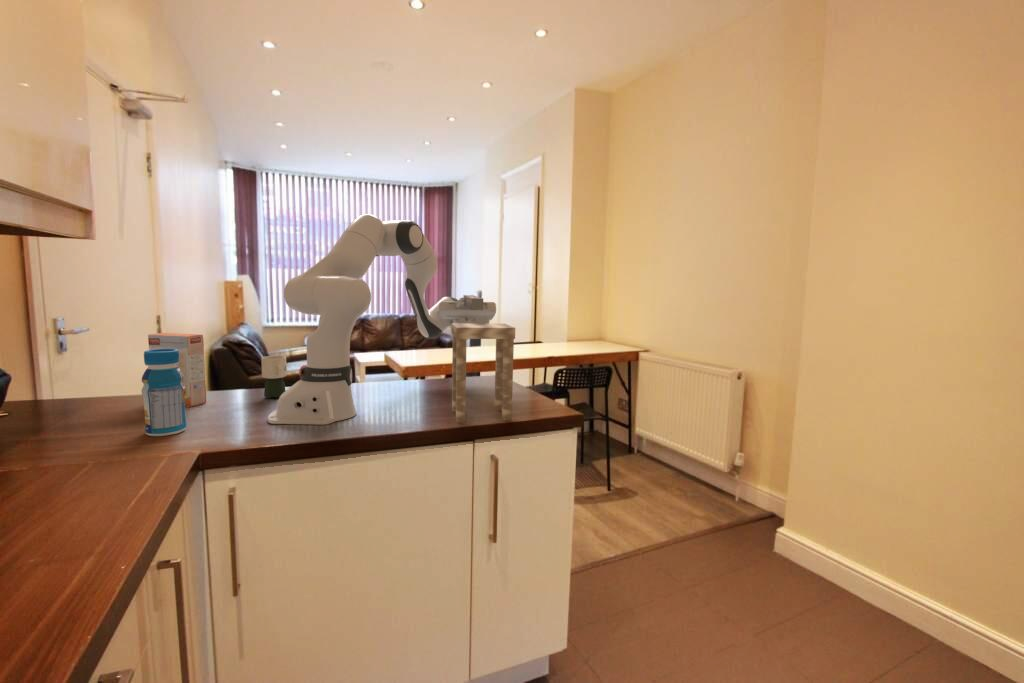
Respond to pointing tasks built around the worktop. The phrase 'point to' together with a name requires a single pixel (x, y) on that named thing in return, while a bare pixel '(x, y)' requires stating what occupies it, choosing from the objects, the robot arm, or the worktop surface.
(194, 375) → the cracker box
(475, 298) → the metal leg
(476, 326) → the stool
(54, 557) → the worktop surface
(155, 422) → the beverage bottle
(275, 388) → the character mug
